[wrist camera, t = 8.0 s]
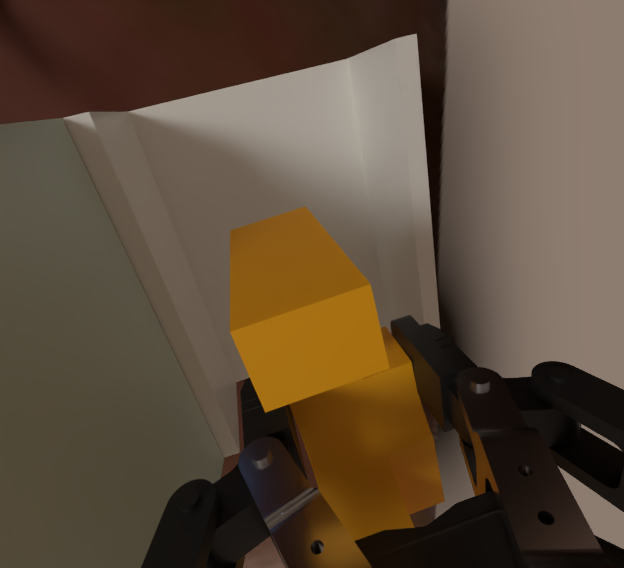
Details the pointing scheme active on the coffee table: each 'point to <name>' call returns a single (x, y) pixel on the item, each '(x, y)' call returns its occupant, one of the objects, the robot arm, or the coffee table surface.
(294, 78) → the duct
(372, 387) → the pipe clamp
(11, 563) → the lid
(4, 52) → the coffee table surface
